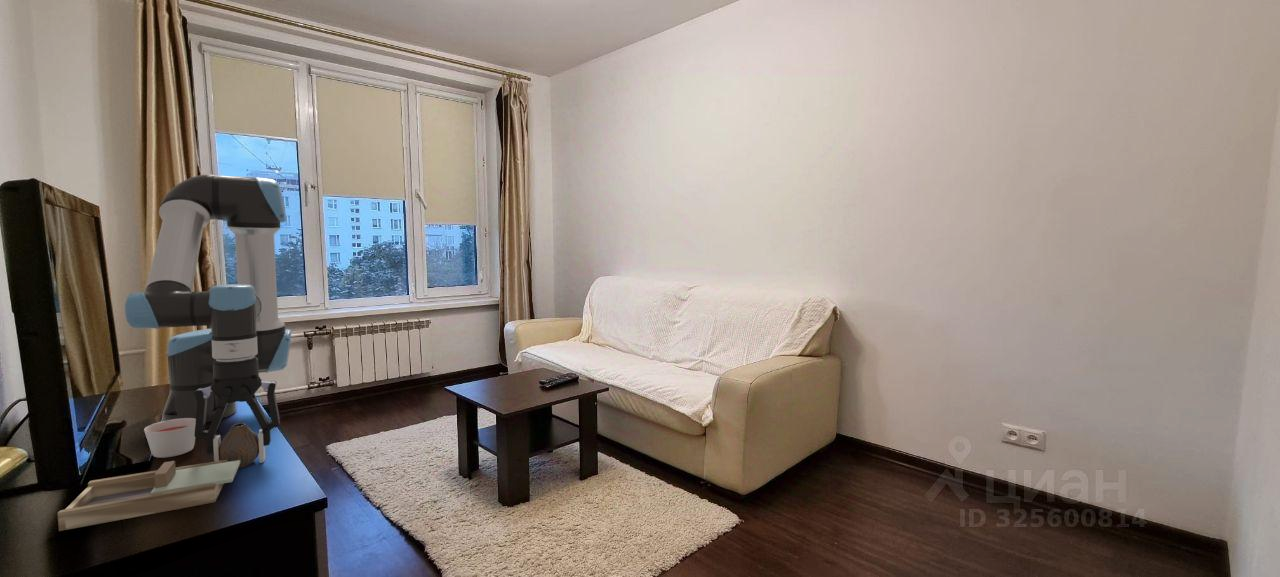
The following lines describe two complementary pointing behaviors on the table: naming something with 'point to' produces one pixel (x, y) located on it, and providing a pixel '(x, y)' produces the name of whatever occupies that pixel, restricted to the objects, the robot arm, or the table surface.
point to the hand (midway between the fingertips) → (240, 463)
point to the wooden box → (131, 499)
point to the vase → (240, 445)
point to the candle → (171, 437)
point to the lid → (193, 476)
